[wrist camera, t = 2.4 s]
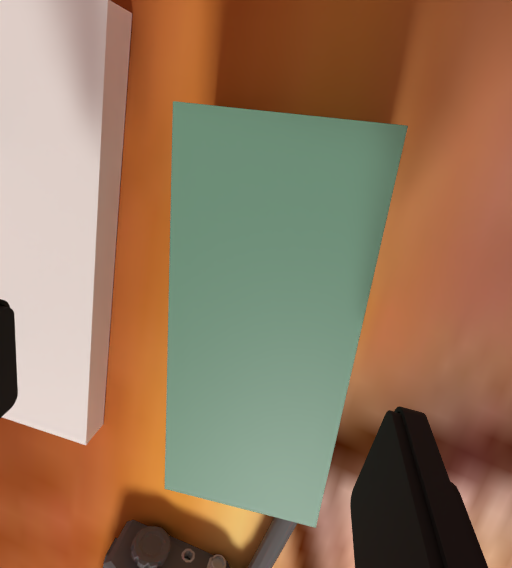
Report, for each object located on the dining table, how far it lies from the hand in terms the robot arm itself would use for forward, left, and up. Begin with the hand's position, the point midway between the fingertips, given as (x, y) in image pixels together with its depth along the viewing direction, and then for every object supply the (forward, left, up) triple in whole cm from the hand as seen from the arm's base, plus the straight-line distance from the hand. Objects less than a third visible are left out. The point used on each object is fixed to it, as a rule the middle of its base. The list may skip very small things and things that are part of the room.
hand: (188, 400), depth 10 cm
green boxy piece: (-1, 0, -7) cm, 7 cm away
